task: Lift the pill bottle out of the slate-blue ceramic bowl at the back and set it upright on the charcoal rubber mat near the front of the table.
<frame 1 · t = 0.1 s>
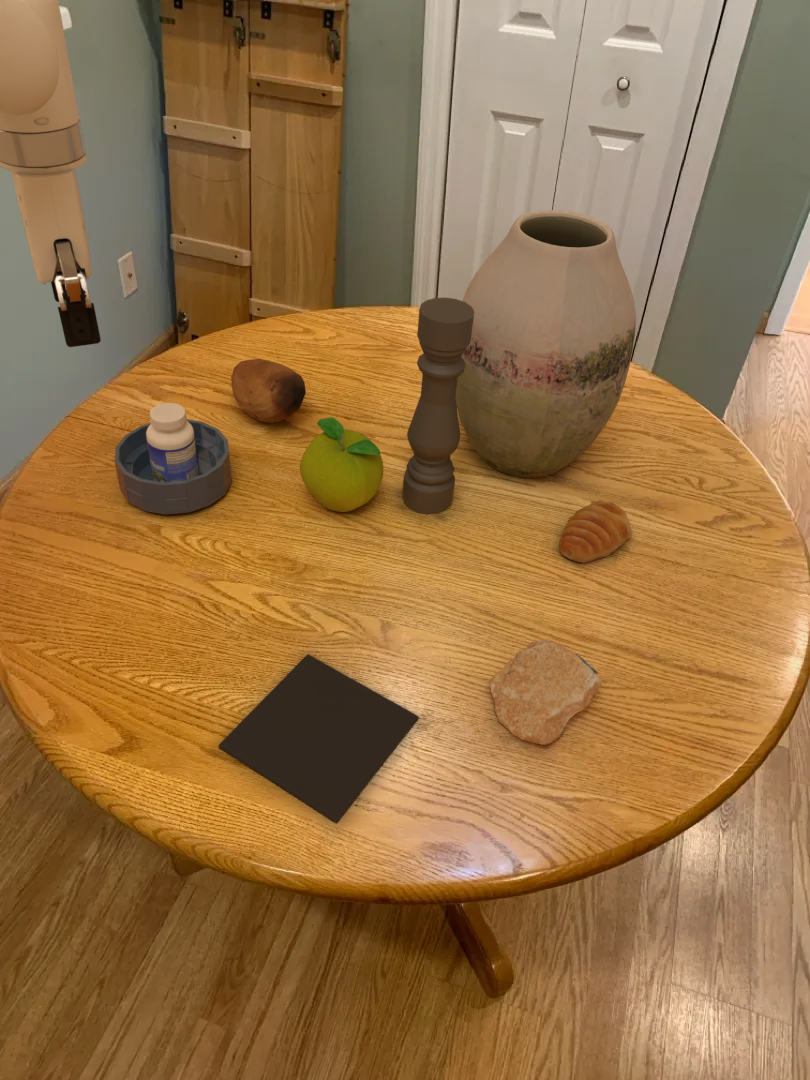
hand: (77, 320, 86), 23 cm above the table, tool pointing down, fingers open, 9 cm apart
potato: (266, 416, 115), on the table
stone: (539, 703, 82), on the table
pastry: (593, 542, 100), on the table
pill bottle: (177, 480, 103), resting on bowl
bowl: (177, 483, 103), on the table
vase: (521, 452, 112), on the table
candle holder: (427, 499, 104), on the table
mat: (320, 733, 77), on the table
fruit: (340, 503, 102), on the table
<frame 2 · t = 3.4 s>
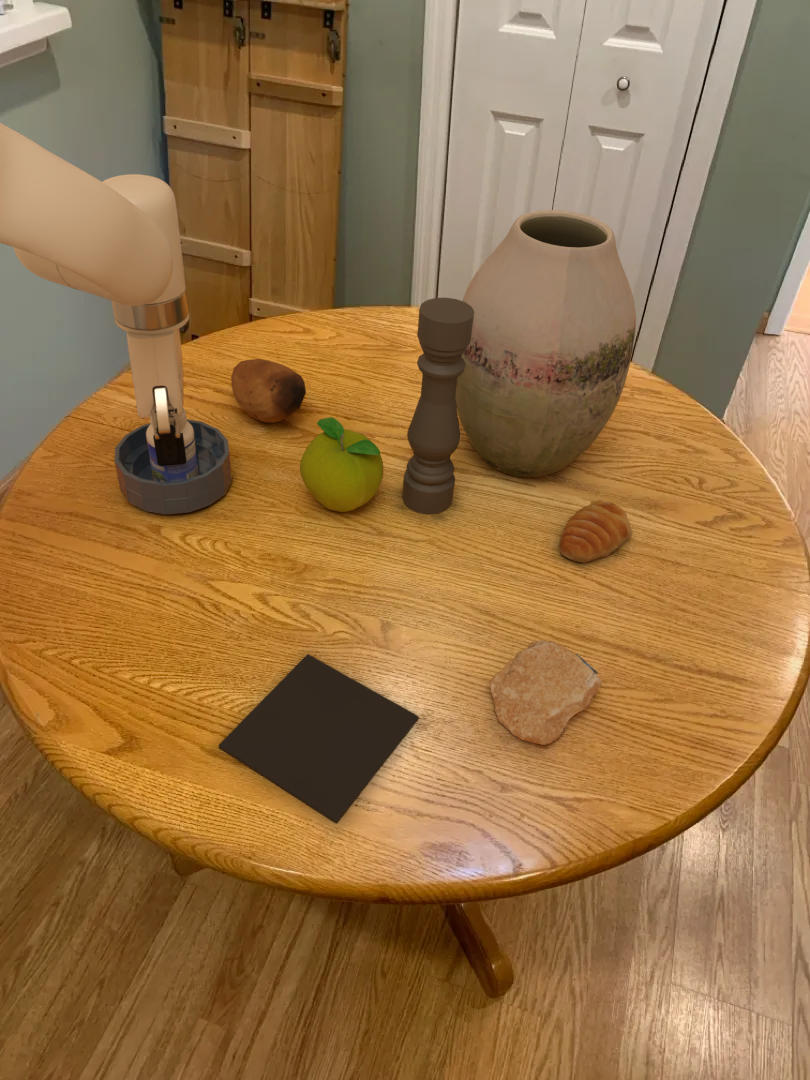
hand: (171, 446, 99), 5 cm above the table, tool pointing down, fingers closed on pill bottle, 5 cm apart
pill bottle: (177, 480, 103), resting on bowl, touching gripper
everything else where it was.
when the fingers open (5 cm above the table, at t = 12.5 s): pill bottle stays where it is, resting on mat.
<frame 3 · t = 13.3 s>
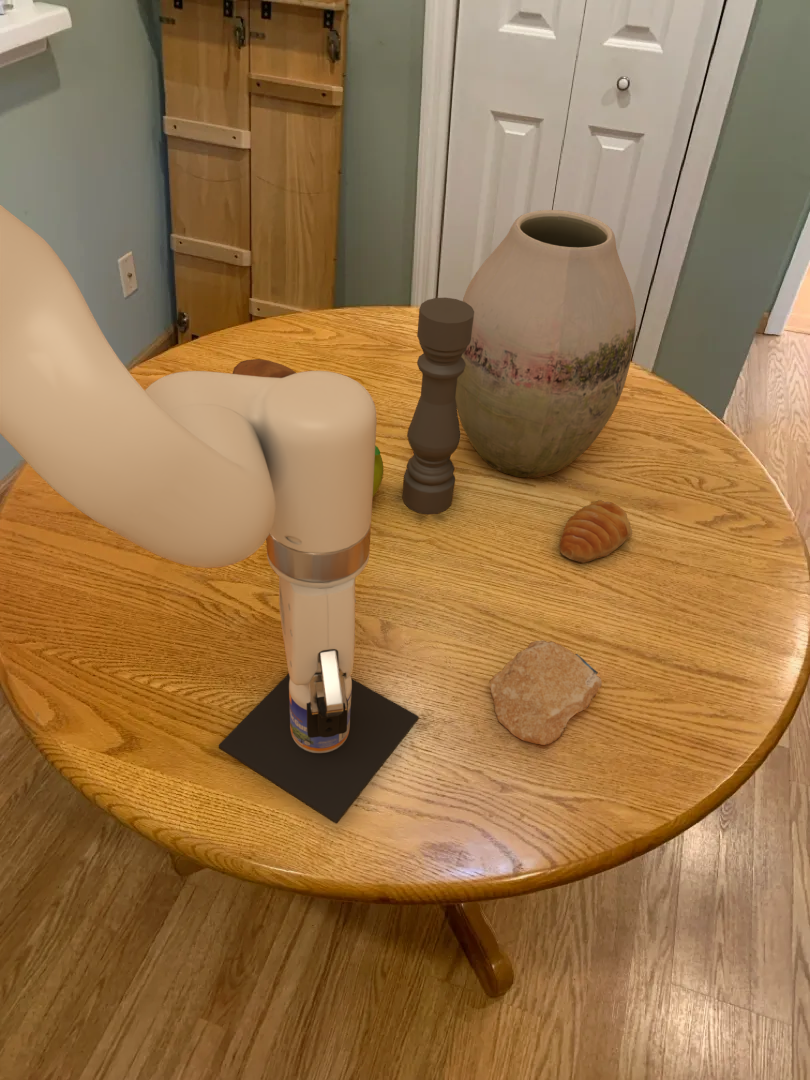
hand: (318, 685, 73), 7 cm above the table, tool pointing down, fingers open, 9 cm apart
pill bottle: (320, 731, 77), resting on mat
everything else where it was.
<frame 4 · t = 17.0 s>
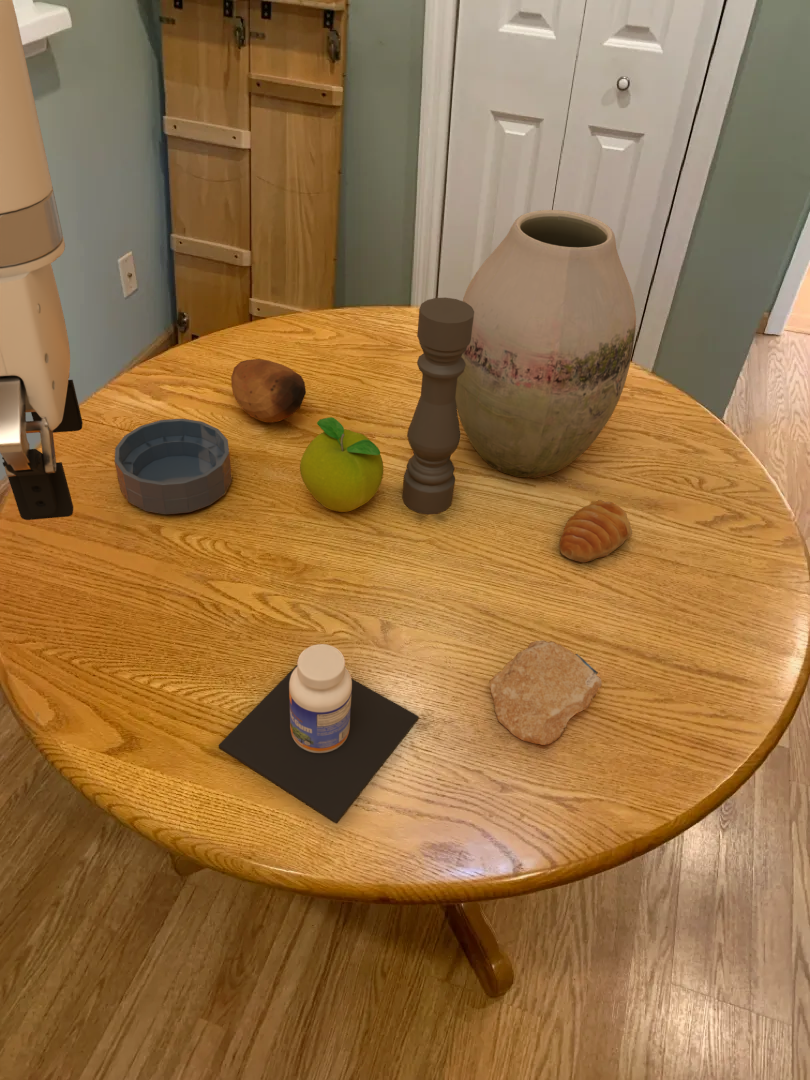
hand: (54, 470, 58), 28 cm above the table, tool pointing down, fingers open, 9 cm apart
nothing on the table moved.
at the end: pill bottle inside the target area on the mat (0.0 cm from its centre), point 0.3 cm above the mat's base; pill bottle tilted 0°; the gripper is holding nothing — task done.
